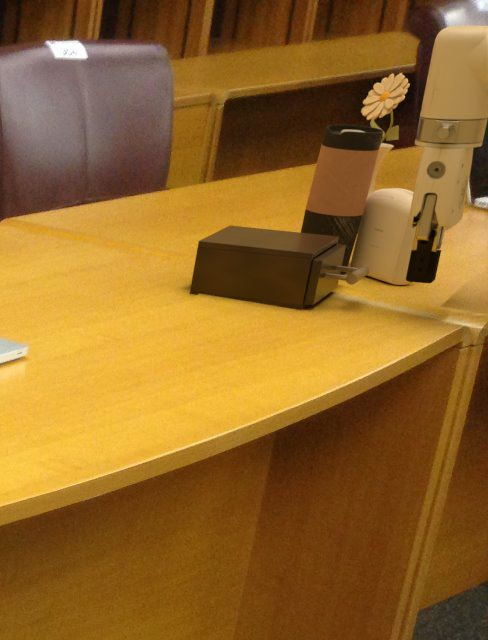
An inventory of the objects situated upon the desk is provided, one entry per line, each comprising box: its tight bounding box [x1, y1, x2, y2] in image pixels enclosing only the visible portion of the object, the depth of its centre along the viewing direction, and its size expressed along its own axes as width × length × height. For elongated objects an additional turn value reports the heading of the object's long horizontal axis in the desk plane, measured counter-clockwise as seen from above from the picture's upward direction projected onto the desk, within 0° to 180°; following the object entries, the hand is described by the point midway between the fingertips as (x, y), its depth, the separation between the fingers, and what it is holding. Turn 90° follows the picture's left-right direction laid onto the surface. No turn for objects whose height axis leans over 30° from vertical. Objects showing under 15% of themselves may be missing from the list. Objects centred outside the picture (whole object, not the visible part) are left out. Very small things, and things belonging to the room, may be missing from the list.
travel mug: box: [300, 124, 384, 275], centre depth 220 cm, size 8×8×20 cm
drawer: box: [304, 244, 369, 306], centre depth 207 cm, size 18×13×6 cm
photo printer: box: [349, 187, 416, 286], centre depth 218 cm, size 10×4×12 cm, turn 13°
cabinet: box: [189, 225, 339, 311], centre depth 209 cm, size 15×15×8 cm
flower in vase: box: [358, 72, 411, 231], centre depth 248 cm, size 13×11×25 cm
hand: (420, 281), depth 199 cm, fingers closed
